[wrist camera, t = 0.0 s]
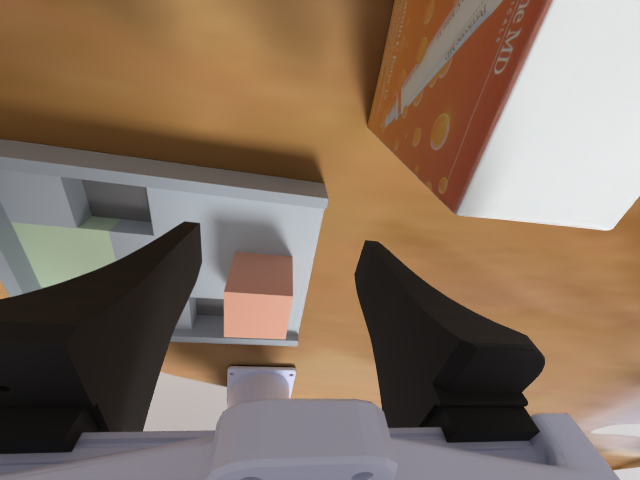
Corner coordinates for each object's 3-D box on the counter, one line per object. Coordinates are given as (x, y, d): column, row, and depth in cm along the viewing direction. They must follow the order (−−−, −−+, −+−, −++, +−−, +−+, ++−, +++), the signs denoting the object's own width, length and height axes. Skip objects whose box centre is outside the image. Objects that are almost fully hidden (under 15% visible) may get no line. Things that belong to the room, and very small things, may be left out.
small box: (395, -25, 15) (643, -209, 5) (499, -3, 16) (906, -113, 6) (363, 129, 20) (452, 220, 9) (447, 140, 21) (619, 234, 10)
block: (286, 296, 25) (285, 339, 21) (234, 293, 24) (223, 337, 21) (292, 256, 23) (293, 296, 19) (235, 251, 22) (223, 291, 18)
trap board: (296, 323, 30) (297, 351, 27) (62, 312, 26) (35, 342, 24) (324, 183, 22) (329, 202, 19) (-14, 136, 18) (-72, 152, 15)
